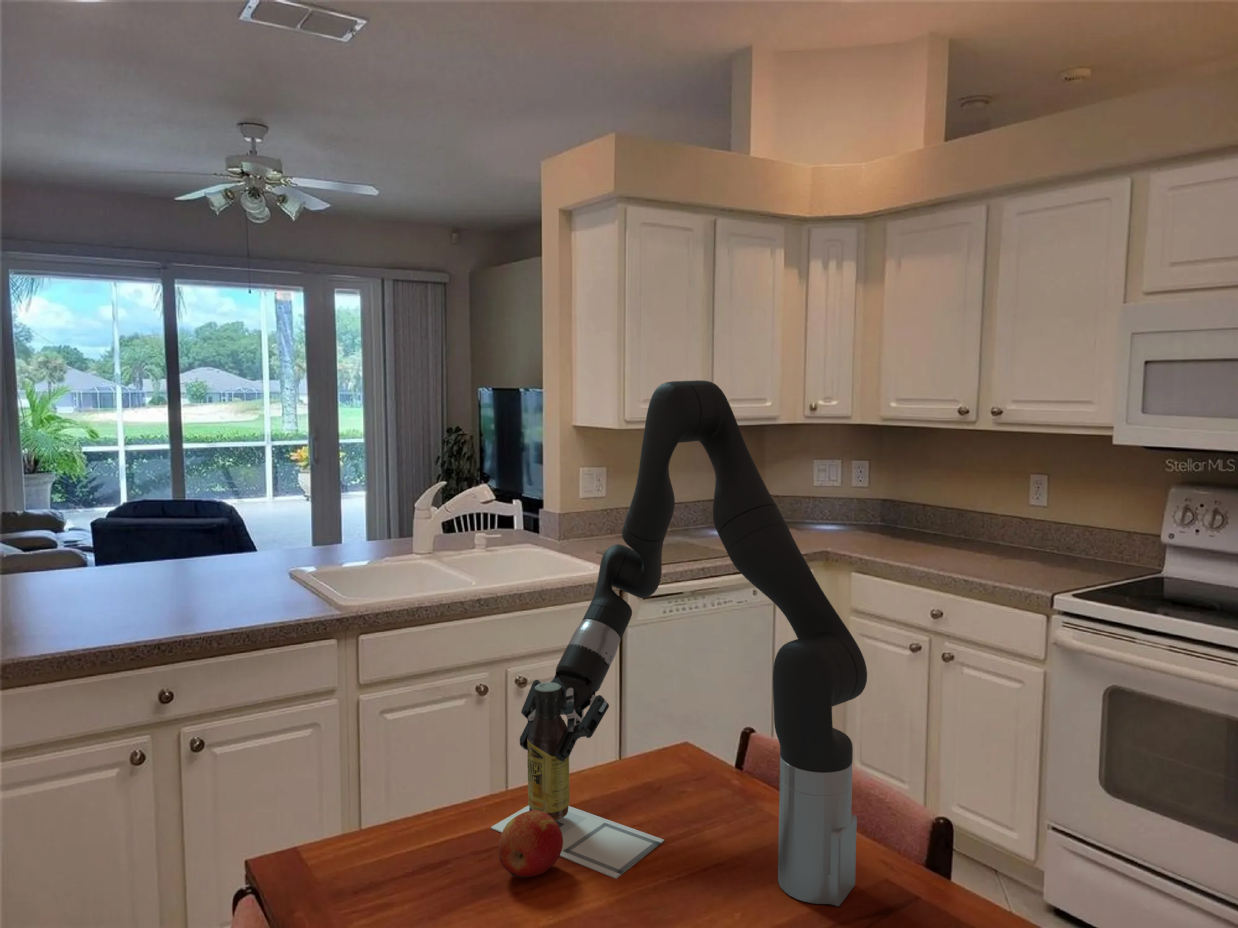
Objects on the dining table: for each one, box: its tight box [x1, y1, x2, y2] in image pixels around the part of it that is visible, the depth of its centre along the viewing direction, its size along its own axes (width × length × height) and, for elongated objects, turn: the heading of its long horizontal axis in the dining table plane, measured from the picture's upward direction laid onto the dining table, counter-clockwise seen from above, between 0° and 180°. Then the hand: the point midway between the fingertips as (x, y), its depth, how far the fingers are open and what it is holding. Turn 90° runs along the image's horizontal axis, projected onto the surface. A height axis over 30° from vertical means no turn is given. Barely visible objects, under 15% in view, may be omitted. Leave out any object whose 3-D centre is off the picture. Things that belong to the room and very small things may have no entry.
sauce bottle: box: [527, 681, 570, 820], centre depth 126 cm, size 7×6×20 cm
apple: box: [497, 810, 563, 879], centre depth 113 cm, size 8×8×8 cm
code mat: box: [490, 804, 665, 880], centre depth 124 cm, size 23×12×1 cm, turn 55°
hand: (541, 752), depth 125 cm, fingers closed on sauce bottle, 6 cm apart
